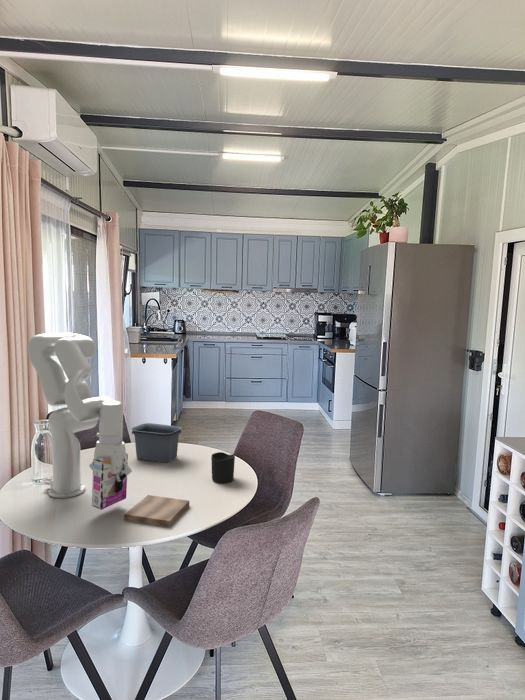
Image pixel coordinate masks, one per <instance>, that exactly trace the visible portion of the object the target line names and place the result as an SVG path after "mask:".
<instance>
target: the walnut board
mask: <svg viewBox="0 0 525 700" xmlns="http://www.w3.org/2000/svg"><path fill="white" fill-rule="evenodd" d="M189 507H190V500H187V499H180V498H171V497H166V496H157V495H150V494H147V495H146V496H145V497H143V499H141V500H140V501H139V502H137V503H136V504H135V505H133V507H131V508H130V509H128V510H127V511H126V512H125V513H124V515H123V519H124V521H129V522H134V523H142V524H147V525H148V524H149V525H154V526H155V525H156V526H160V527H166V528H170V527H171V526H172V525H173V524H174V523H175V522H176V521H177V520H178V518H179V517H181V516H182V515H183V514H184V512H185V511H186V510H187V509H188V508H189Z"/></svg>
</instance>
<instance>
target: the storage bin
mask: <svg viewBox="0 0 525 700" xmlns="http://www.w3.org/2000/svg"><path fill="white" fill-rule="evenodd" d="M182 428H183V427H181V426H176V425H169V424H159V423H149V422H147V423H146V422H145V423H141V424H138V425H136V426H133V427H131V428H130V430H131V434H132V435H133V436H134V444H135V454H136V459H138V460H144V461H150V462H151V461H152V462H158V463H163V464H164V463H165V464H166V463H167V464H168V463H170V462H172V461H173V460H175V459H176V458H177V457H178V446H179V435H180V434H182Z"/></svg>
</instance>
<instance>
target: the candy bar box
mask: <svg viewBox="0 0 525 700" xmlns="http://www.w3.org/2000/svg"><path fill="white" fill-rule="evenodd" d="M128 458H129V453H127V452H126V463H127V465H128ZM92 462H93V470H92V491H91V492H92V496H91V506H92V507H94V508H96V509H98V510H104V509H106V508H108V507H111V506H112V505H114V504H117V503H119V502H121V501H124V500H125V499H127V487H128V486H127V485H128V484H127V483H128V475H127V476H126V477H125V478H124V479H123V489H122V490H121V491H120V492H118V493H116V492H115V486H116V481H117V478H116V475H115V474H111V461H110V459H106V458H99V457H98V458H95V459H94V458H93V459H92ZM123 473H125V470H123Z"/></svg>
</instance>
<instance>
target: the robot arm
mask: <svg viewBox="0 0 525 700" xmlns="http://www.w3.org/2000/svg"><path fill="white" fill-rule="evenodd" d="M96 352H97V345H96V343H95V342H94V340H93V339H92V338H91V337H89V336H87V335H83V334H79V333H74V332H54V333H53V332H51V333H40V334H36V335H33V336H32V337H31V338H30V339H29V341H28V344H27V354H28V359H29V361H30V363H31V365H32V366H33V368H34V369H35V371H36V374H37V376H38V378H39V381H40V385H41V387H42V391H43V395H44V397H45V400H46V402H47V404H48V405H49V406H51V407H61V406H66V407H61V408H58V409H56V410H54V411H52V412H51V413H50V415H49V417H48V426H49V430H50V431H49V432H50V435H51V447H52V448H51V449H52V451H51V452H52V477H50V476H49V477H47V478H46V480H45V481H44V484H45V486H50V487H49V489H48V495H49V496H50V497H52V498H55V499H56V498H57V499H68V498H73V497H76V496H80V495H81V494H83V493H84V492H85V490H86V485H85V484H84V483H82V480H81V478H82V477H81V476H82V475H81V473H82V472H81V470H82V469H81V464H82V463H81V443H80V441H79V439H78V438H77V436H76V435H75V433H78V432H82V431H85V430H86V431H87V430H90V429H92V428H95V427H96V425H98V424H99V425H98V432H97V433H96V434H95V435H96V437H97V438H98V440H97V441H96V444H95V449H94V452H93V453H94V454H93V459H95V458H98V457H99V458H106V459H110V461H111V474H115V475H116V478H117V481H116V486H115V492H116V493H118V492H120V491H121V490H122V489H123V479H124V478H125V477H126V476H127V477H128V476H129V475H130V474H131V473H132V472H133V470H132V469H131V467H130V466H129V465H128V464H127V463H126V453H127V451H126V444H125V442H124V441H123V439H124V405H123V403H122V402H121V401H119V400H114V399H113V398H111V397H110V396H106V395H101V396H96V397H93V395H92V392H91V389H90V386H89V384H88V383H87V381H86V380H88V379H89V378H90V377H91V376H92V374H93V369H92V367H91V365H90V363H89V360H91V359H93V358H94V357H95V355H96V354H97V353H96ZM53 356H54V357H55V356H56V358H57V360H58V361H59V363H58V361H56V360H54V358H52V357H53ZM65 375H66V376H65ZM66 377H67V378H66ZM88 466H89V468H90V469H91V470H92V471H93V461H92V462H91V463H90V464H89V465H88ZM123 470H125V473H123Z"/></svg>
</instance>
